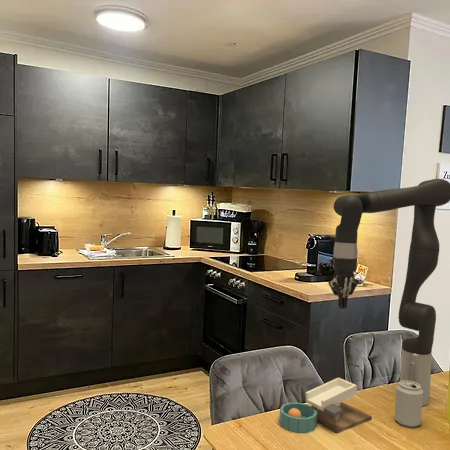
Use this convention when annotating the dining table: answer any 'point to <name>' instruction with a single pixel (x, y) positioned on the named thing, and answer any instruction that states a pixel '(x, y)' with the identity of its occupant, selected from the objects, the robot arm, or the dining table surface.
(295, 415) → the ball
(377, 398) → the dining table surface
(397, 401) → the can
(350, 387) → the cream shallow tray
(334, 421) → the stand
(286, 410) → the teal round bowl
